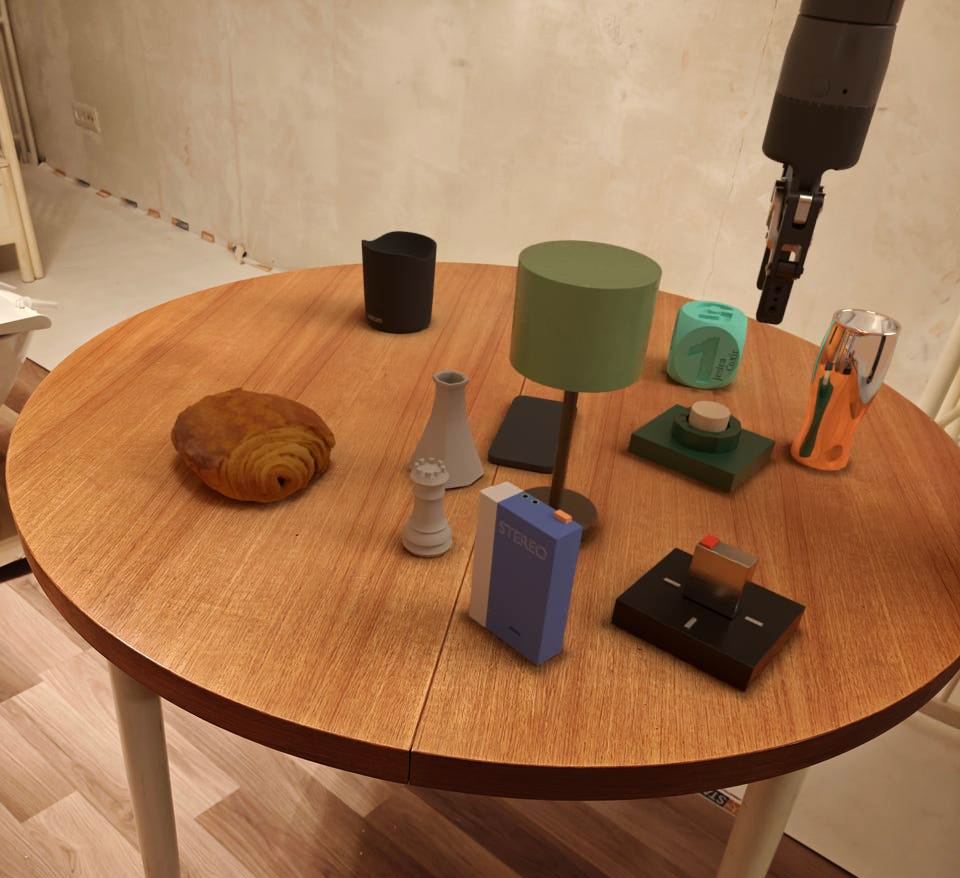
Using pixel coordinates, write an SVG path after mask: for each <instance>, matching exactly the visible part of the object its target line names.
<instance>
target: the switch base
mask: <svg viewBox="0 0 960 878" xmlns="http://www.w3.org/2000/svg"><path fill="white" fill-rule="evenodd" d="M691 407H692V406H687V407H686V406H684V405H681V404H679V403H676V404H675V405H673V406H671V407H669V408H668V409H667V410H665V411H664V412H661V413H660V414H659V415H657V416H656V417H654V418H653V419H651V420H650V421H648V422H647V423H645V424H644V425H642V426H640V427H639V428H637V429H636V430H634V431H633V432H631V434H630V439H629V444H628V449H627V452H628V453H630V454H633V455H636V456H638V457H641V458H642V459H645V460H647V461H649V462H652V463H654V464H657V465H660V466H662V467H664V468H666V469H669V470H671V471H674V472H676V473H678V474H681V475H684V476H686V477H689V478H691V479H694V480H696V481H698V482H700V483H703V484H705V485H708V486H710V487H713V488H715V489H717V490H719V491H720V490H721V491H723V492H725V493H727V494H731V493H732V492H733V491H734V490H736V488H738V487H739V486H740V485H741V484H742V483H744V481H746V480H747V479H748V478H750V477H751V476H752V475H753V474H754V473H755V472H756V471H758V470H760V468H761V467H763V466H764V465H765V464H766V463H767V462H768V461H769V460H771V458H772V455H773V452H774V448H775V445H776V442H777V441H776V440H774V439H772V438H769V437H767V436H764V435H761V434H758V433H756V432H753V431H750V430H748V429H745V428H742V424H741V421H740V420H739V419H738V418H736V417H735V416H734V415H733V414H732V413H730V417H729V421H728V424H727V428H726V430H725V431H722V432H709V431H703V430H700V429H697V428H695V427H693V426H691V425H690V424H689V423H688V420H689V416H690V411H691Z"/></svg>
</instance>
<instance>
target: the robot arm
mask: <svg viewBox="0 0 960 878" xmlns="http://www.w3.org/2000/svg"><path fill="white" fill-rule="evenodd" d="M905 2H906V0H801V1H800V4H799V9H798V12H799V13H798V14H797V16H796V19H795V23H794V26H793V28H792V32H791V34H790V37H789V40H788V42H787V46H786V48H785V52H784V55H783V58H782V63H781V66H780V71H779V75H778V79H777V83H776V88H775V92H774V96H773V100H772V104H771V108H770V112H769V115H768V119H767V124H766V129H765V132H764V137H763V140H762V143H761V144H762V145H761V151H762V153H763V155H764V156H765V157H766V158H767V159H769V160H771V161H774V162H776V163H779V164H782V172H781V176H780V179H775V181H774V183H773V186H772V190H771V197H770V206H769V209H768V214H767V218H766V223H765V225H766V227H767V232H766V233H765V236H764V239H765V244H766V245H765V249H764V253H763V256H762V260H761V264H760V268H759V271H758V274H757V279H756V286H755V287H756V289H757V290H759V291H761V293H760V296H759V301H758V304H757V309H756V312H755V321H756V322H758V323H759V324H760V323H761V324H766V325H773V326H778V325H780V324H782V323H783V320H784V317H785V314H786V310H787V307H788V303H789V300H790V298H791V297H790V296H791V293H792V291H793V290H792V289H793V286H794V283H795V281H797V280H801V279H800V278H801V276H802V275H804V271H805V267H804V266H805V262H806V259H807V256H808V252H809V250H810V248H811V246H812V244H813V240H814V238H815V237H814V236H815V232H816V227H817V223H818V218H819V217H820V215H821V214H822V212H823V209H824V206H825V202H826V197H827V193H826V192H825V185H821V183H822V178H823V175H824V173H825V172H827V171H829V170H832V171H835V172H837V171H846V170H849V169H852V168H854V167H855V166H857V164H858V163H859V162H860V158H861V154H862V151H863V148H864V145H865V142H866V139H867V136H868V132H869V129H870V126H871V123H872V120H873V117H874V113H875V110H876V107H877V103H878V101H879V97H880V94H881V91H882V87H883V85H884V82H885V79H886V75H887V72H888V68H889V65H890V61H891V56H892V51H893V47H894V46H893V45H894V40H895V35H896V32H897V28H898V25H897V24H899V21H900V18H901V15H902V11H903V8H904V6H905ZM792 253H793V254H794V259H793V260H790V258H791V255H792Z"/></svg>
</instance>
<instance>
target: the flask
mask: <svg viewBox="0 0 960 878" xmlns="http://www.w3.org/2000/svg"><path fill="white" fill-rule="evenodd" d="M432 381H433V382H434V384H435V389H434V391H435V392H434V400H433V404H432V408H431V411H430V415H429V416H428V419H427V422H426V424H425V426H424V429H423V432H422V434H421V435H420V438H419V439H418V442H417V444H416V447H415V449H414V450H413V453H412V455H411V457H410V460H409V462H408V464H407V466H408V467H409V469H410V470H411V471H412V470H413V469H414V468H415V463H416V462H417V463H419V459H422V458H424V459H425V463H429V458H435V463H436V464H438V461H439V460H441V461H442V462H444V465H445V470H446V471H447V473H448V475H449V478H448V480H447V481H446V482H445V484H444V485H443V487H444V489H445V490H446V489H452V488H453V489H454V488H458V487H459V488H460V487H466V486H470V485H472V484H473V483H474V482H475V481H477V480H478V479H479V478H480V477H482V476H483V475H485V471H484V467H483V464H482V461H481V458H480V455H479V452H478V449H477V447H476V443H475V441H474V436H473V433H472V429H471V426H470V422H469V419H468V415H467V407H466V399H465V398H466V387H467V386H468V385H469V383H470V378H469V377H468V376H467V375H466V374H465V373H464V372H461V371H458V370H455V369H446V370H439V371H438V372H436V373H434V374H432ZM411 471H410V472H411Z"/></svg>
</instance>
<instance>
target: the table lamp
mask: <svg viewBox="0 0 960 878" xmlns="http://www.w3.org/2000/svg"><path fill="white" fill-rule="evenodd" d="M662 276H663V269H662V267H661V266H660V264H659V263H658V262H656V260H654V259H653V258H651V257H649V256H647V255H646V254H643V253H641V252H639V251H636V250H633V249H630V248H627V247H624V246H620V245H615V244H610V243H604V242H599V241H598V242H597V241H590V240H578V239H576V240H575V239H573V240H572V239H560V240H549V241H543V242H538V243H535V244H531V245H529V246H526V247H525V248H523V249H522V250H521V251H520V252H519V254H518V261H517V270H516V282H515V283H516V284H515V292H514V301H513V313H512V325H511V332H510V333H511V334H510V345H509V355H508V359H509V362H510V365H511V367H512V368H513V369H514V370H515V371H516V372H517V373H518V374H520V375H521V376H522V377H524V378H526V379H527V380H530V381H531V382H534V383H536V384H539V385H542V386H544V387H547V388H551V389H556V390H560V391H563V398H562V402H563V404H562V411H561V419H560V426H559V433H558V440H557V447H556V454H555V461H554V468H553V472H552V477H551V483H550V485H549V486H548V485H545V486H541V485H540V486H533V487H530V488H527V489H525V490H523V491H525V492H526V493H528V494H530V495H531V496H533V497H535V498H536V499H538V500H540V501H541V502H543V503H545V504H546V505H548V506H550V507H551V508H553V509H555V510H556V511H558V510H561V511H563V512H565V513H566V514H568V515H570V516H571V517H572V520H573V521H575V522H576V523H578V524H580V525H581V526H583V530H582V536H581V541H580V544H582V543H583V542H586V541H587V540H588V539H590V538H591V537H592V536H593V534H594V533H595V529H596V525H597V518H598V511H597V508H596V505H595V504H594V503H593V501H591V499H589V498H588V497H587V496H585V495H584V494H581V493H580V492H578V491H575V490H572V489H569V488H565V485H566V479H567V472H568V464H569V458H570V451H571V446H572V438H573V432H574V427H575V426H574V425H575V421H574V420H576V418H575V413H576V407H578V400H579V394H580V393H584V394H585V393H586V394H600V393H609V392H617V391H620V390H623V389H626V388H629V387H631V386H633V385H635V384H636V383H637V382H638V381H639V380H640V379H641V377H642V376H643V371H644V366H645V362H646V356H647V352H648V346H649V341H650V336H651V331H652V327H653V326H652V325H653V320H654V316H655V311H656V307H657V306H656V305H657V301H658V297H659V296H658V295H659V291H660V285H661V280H662Z"/></svg>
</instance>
